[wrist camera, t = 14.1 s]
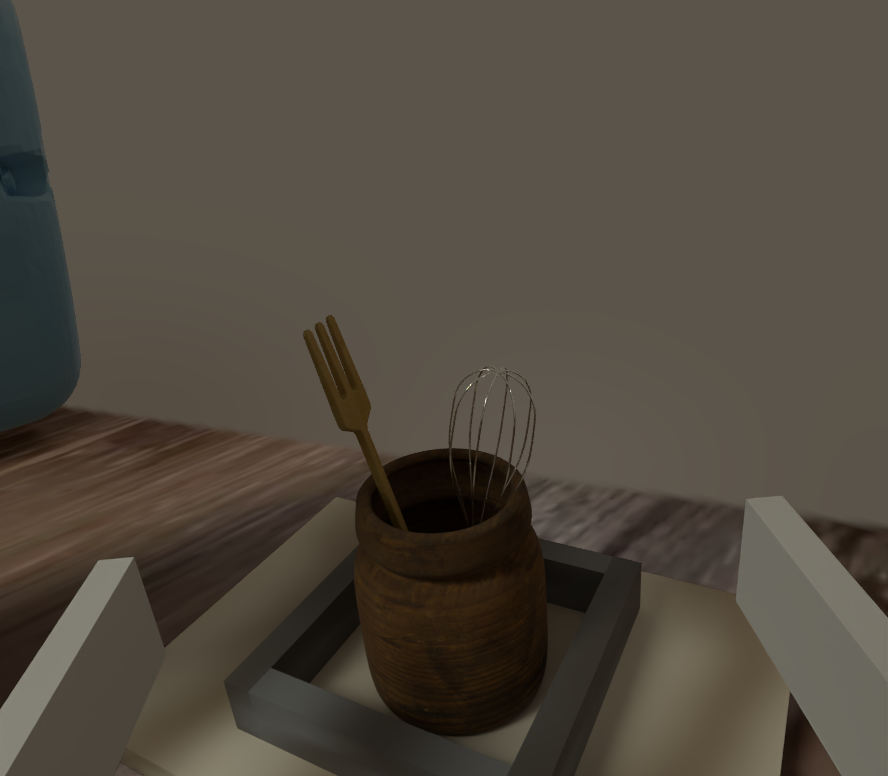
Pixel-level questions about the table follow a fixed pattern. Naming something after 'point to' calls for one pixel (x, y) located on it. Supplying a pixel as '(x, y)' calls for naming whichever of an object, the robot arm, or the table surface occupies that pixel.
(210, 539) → the table surface
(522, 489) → the utensil holder
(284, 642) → the collar board
